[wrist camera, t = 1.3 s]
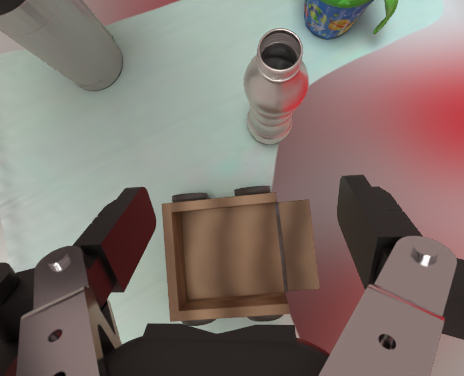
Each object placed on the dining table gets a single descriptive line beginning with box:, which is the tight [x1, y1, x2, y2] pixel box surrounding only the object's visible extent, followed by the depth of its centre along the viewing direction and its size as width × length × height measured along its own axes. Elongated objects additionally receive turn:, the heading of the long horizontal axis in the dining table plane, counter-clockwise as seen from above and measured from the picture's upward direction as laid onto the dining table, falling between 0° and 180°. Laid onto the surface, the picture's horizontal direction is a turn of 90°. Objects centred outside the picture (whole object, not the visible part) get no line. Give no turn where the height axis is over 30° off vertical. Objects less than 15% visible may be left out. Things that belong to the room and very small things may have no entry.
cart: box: [162, 186, 320, 326], centre depth 37 cm, size 20×17×6 cm
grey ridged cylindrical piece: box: [244, 28, 309, 144], centre depth 32 cm, size 6×7×20 cm
